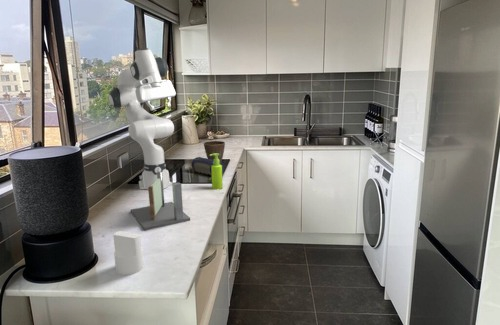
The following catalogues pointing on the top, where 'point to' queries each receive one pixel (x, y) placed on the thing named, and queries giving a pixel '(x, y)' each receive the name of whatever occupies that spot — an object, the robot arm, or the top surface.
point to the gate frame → (163, 210)
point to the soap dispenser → (216, 173)
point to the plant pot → (214, 149)
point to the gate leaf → (155, 198)
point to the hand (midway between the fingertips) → (161, 108)
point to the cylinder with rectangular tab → (128, 253)
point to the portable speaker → (204, 165)
